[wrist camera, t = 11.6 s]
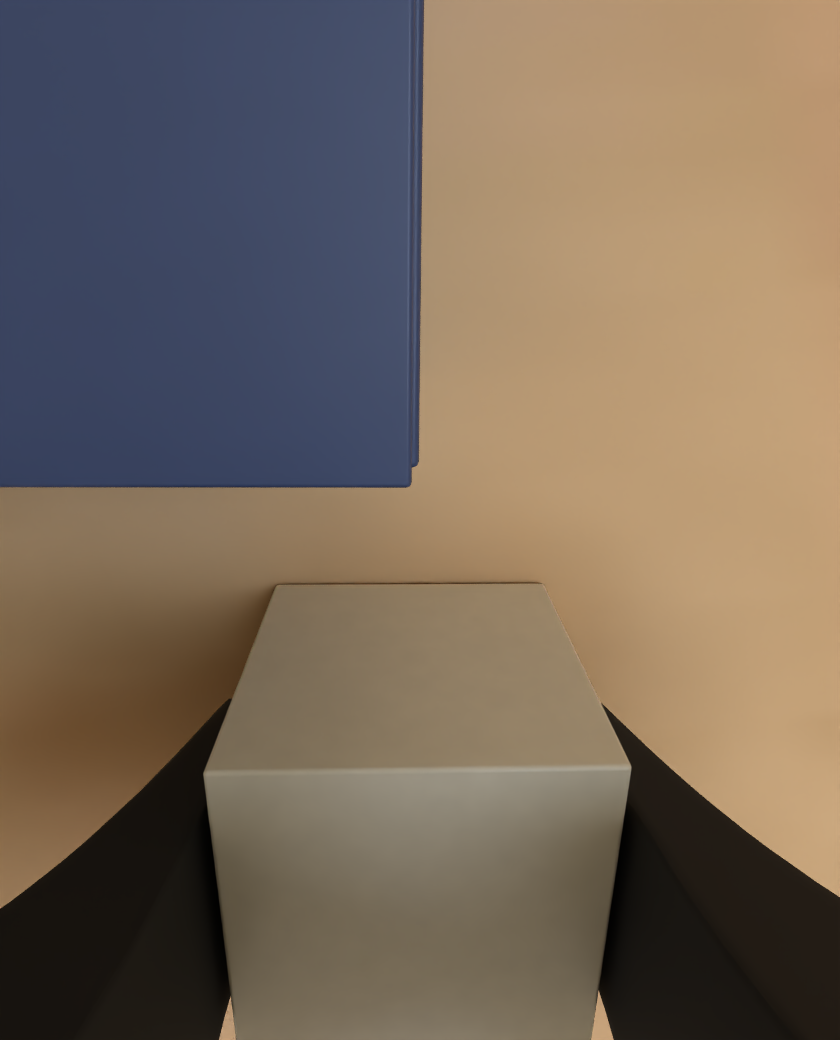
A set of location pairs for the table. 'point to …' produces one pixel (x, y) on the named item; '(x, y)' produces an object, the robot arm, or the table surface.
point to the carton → (210, 242)
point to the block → (415, 818)
